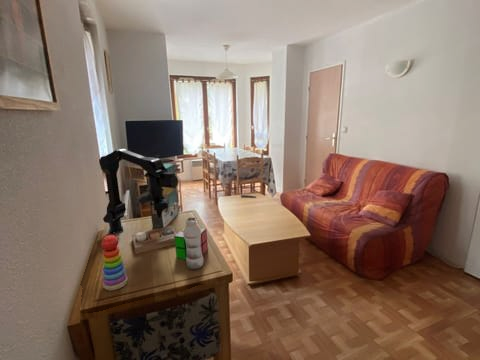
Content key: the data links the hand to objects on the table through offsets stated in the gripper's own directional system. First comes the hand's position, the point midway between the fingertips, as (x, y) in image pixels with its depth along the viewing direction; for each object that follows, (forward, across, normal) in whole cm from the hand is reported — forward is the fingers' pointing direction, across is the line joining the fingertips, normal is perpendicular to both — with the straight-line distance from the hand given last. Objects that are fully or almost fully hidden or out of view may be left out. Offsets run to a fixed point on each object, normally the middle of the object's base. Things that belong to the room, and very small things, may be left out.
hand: (159, 217), depth 121 cm
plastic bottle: (+10, +32, +7) cm, 34 cm away
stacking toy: (+10, +28, -21) cm, 37 cm away
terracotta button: (+10, +3, -3) cm, 11 cm away
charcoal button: (+10, +3, +3) cm, 11 cm away
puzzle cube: (+10, +22, +9) cm, 26 cm away
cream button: (+8, +3, -9) cm, 13 cm away
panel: (+10, +3, -3) cm, 11 cm away
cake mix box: (+11, -20, +7) cm, 24 cm away
